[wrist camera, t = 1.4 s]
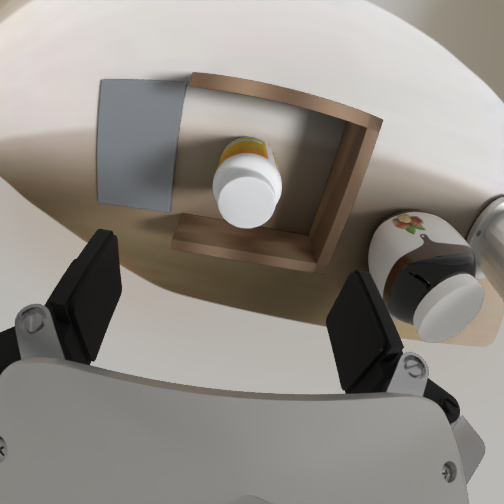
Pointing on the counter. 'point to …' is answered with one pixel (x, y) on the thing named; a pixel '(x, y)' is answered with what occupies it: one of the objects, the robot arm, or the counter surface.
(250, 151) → the supplement bottle
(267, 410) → the robot arm
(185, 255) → the counter surface
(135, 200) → the slate mat
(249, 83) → the open front box
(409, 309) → the spread jar
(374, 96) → the counter surface
